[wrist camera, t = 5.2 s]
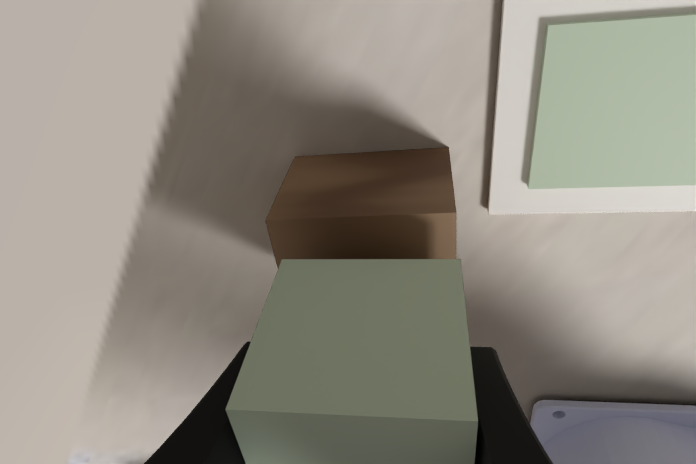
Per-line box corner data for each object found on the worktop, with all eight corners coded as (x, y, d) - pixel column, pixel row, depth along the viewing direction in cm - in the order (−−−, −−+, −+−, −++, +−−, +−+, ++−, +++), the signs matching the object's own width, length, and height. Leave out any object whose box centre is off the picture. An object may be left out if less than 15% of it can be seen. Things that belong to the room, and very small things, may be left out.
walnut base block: (448, 145, 16) (455, 212, 12) (449, 268, 18) (456, 350, 15) (295, 154, 16) (265, 220, 13) (318, 271, 19) (298, 349, 16)
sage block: (460, 259, 12) (477, 421, 8) (455, 380, 15) (467, 545, 11) (282, 259, 13) (225, 409, 9) (306, 375, 15) (270, 529, 12)
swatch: (811, -49, 12) (828, -46, 11) (717, 205, 16) (726, 215, 15) (503, -22, 13) (507, -19, 12) (487, 209, 17) (489, 219, 16)
